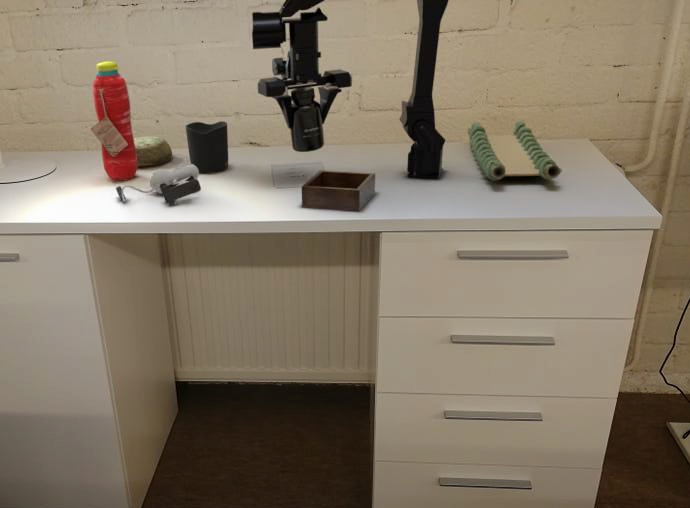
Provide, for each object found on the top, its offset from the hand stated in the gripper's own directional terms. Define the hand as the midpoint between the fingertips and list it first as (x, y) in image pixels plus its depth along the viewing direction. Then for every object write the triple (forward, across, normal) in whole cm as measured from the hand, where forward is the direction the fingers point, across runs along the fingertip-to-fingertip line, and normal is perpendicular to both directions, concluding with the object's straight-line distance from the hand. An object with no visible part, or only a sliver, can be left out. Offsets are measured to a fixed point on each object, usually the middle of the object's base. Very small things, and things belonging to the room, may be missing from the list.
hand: (306, 126), depth 162 cm
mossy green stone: (+12, +28, -35) cm, 47 cm away
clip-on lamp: (+12, +32, -4) cm, 34 cm away
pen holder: (+12, +16, -20) cm, 28 cm away
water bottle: (+12, +37, -23) cm, 45 cm away
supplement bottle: (+5, 0, 0) cm, 5 cm away
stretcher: (+12, -44, +10) cm, 46 cm away
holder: (+12, 0, +16) cm, 20 cm away
